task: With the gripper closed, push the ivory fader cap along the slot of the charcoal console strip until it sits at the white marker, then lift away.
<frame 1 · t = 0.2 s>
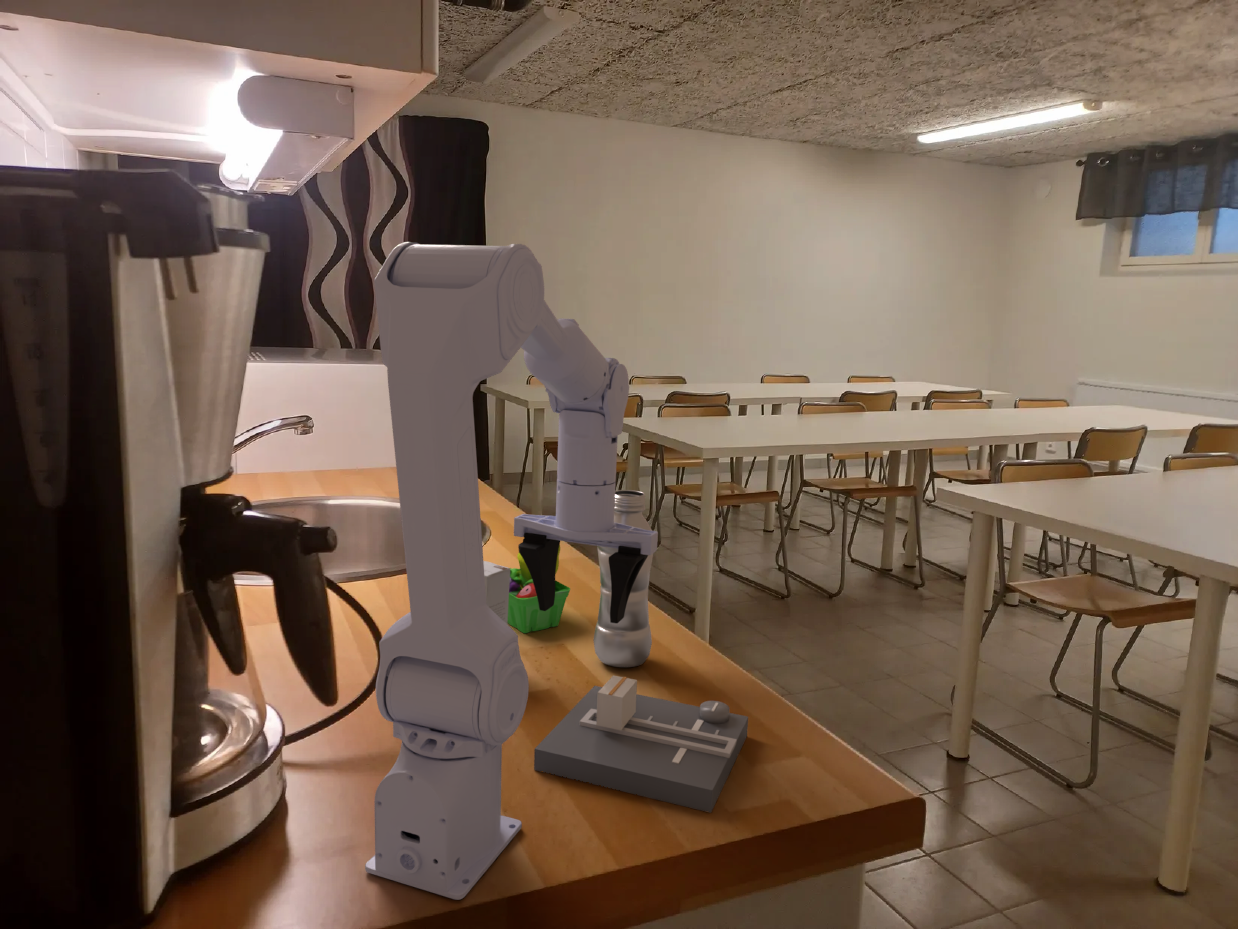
hand: (581, 613, 86), 10 cm above the kitchen counter, tool pointing down, fingers open, 7 cm apart
fader cap: (616, 703, 79), point 4 cm above the kitchen counter, slide at 0.0 cm
plastic bottle: (621, 664, 99), on the kitchen counter
console: (645, 752, 79), on the kitchen counter
skincare box: (475, 672, 95), on the kitchen counter
fruit basket: (527, 620, 112), on the kitchen counter
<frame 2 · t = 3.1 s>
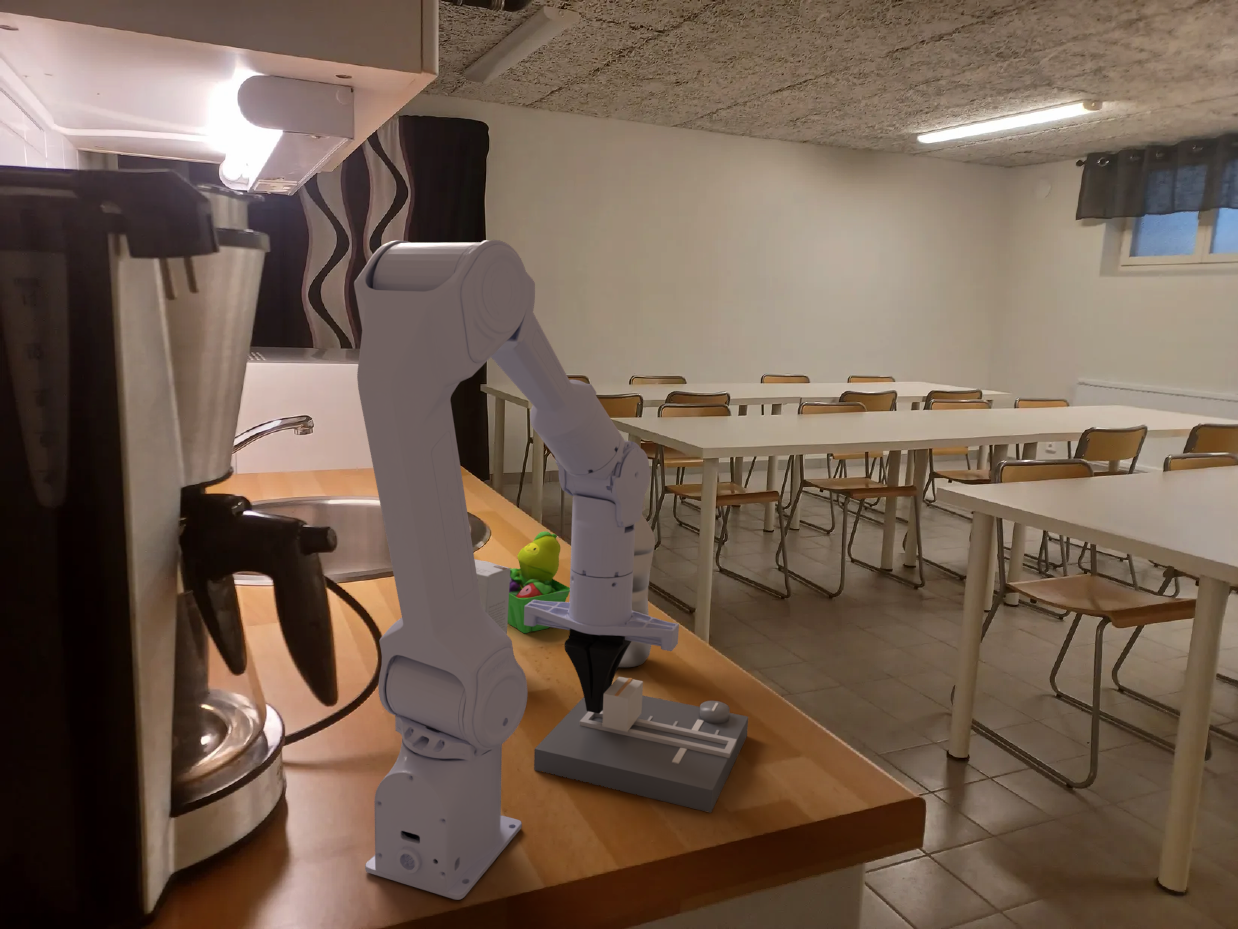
hand: (596, 708, 80), 3 cm above the kitchen counter, tool pointing down, fingers closed
fader cap: (622, 705, 79), point 4 cm above the kitchen counter, slide at 0.6 cm, touching gripper
everything else where it was.
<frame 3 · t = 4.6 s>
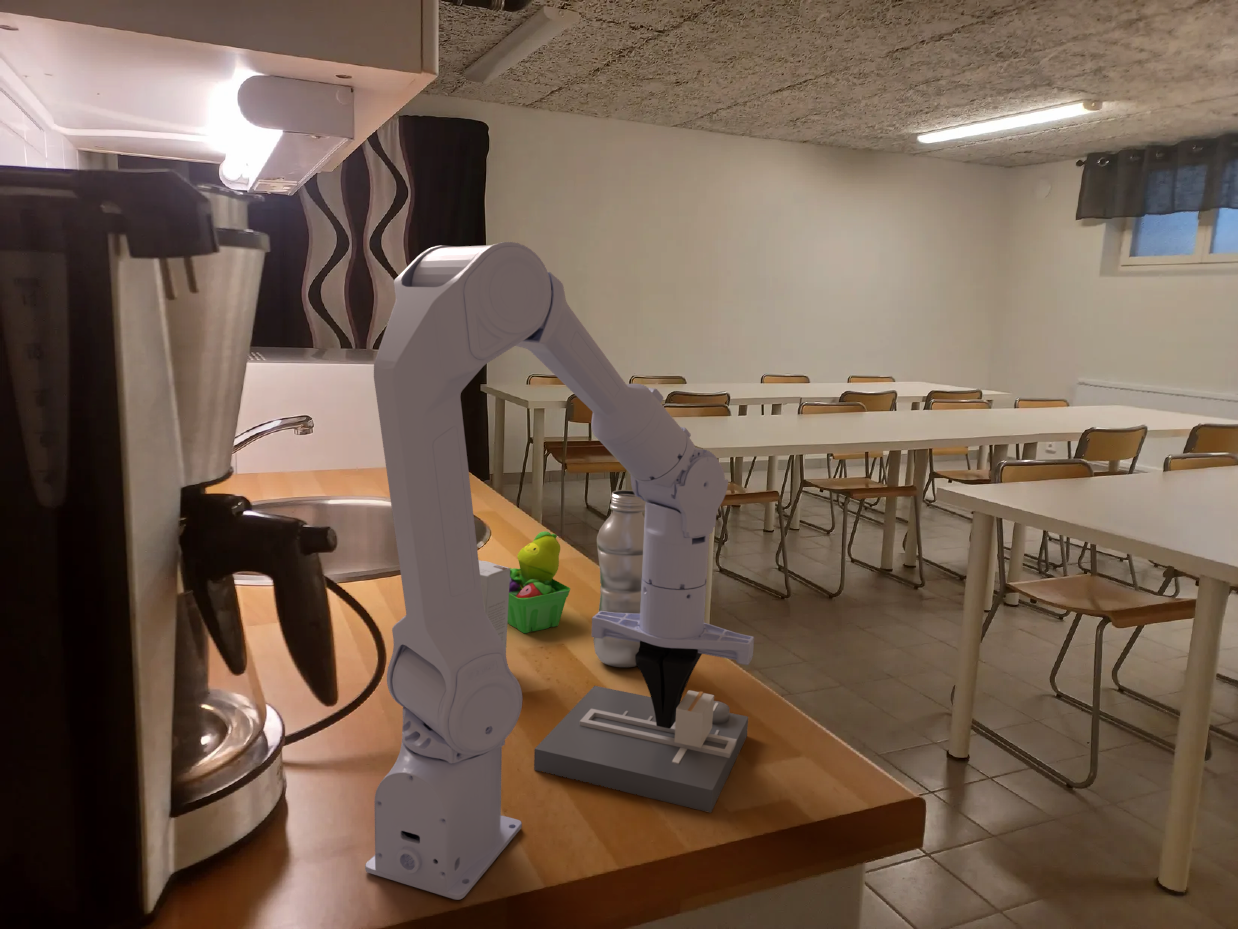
hand: (666, 722, 78), 3 cm above the kitchen counter, tool pointing down, fingers closed
fader cap: (694, 719, 77), point 4 cm above the kitchen counter, slide at 7.4 cm, touching gripper
everything else where it was.
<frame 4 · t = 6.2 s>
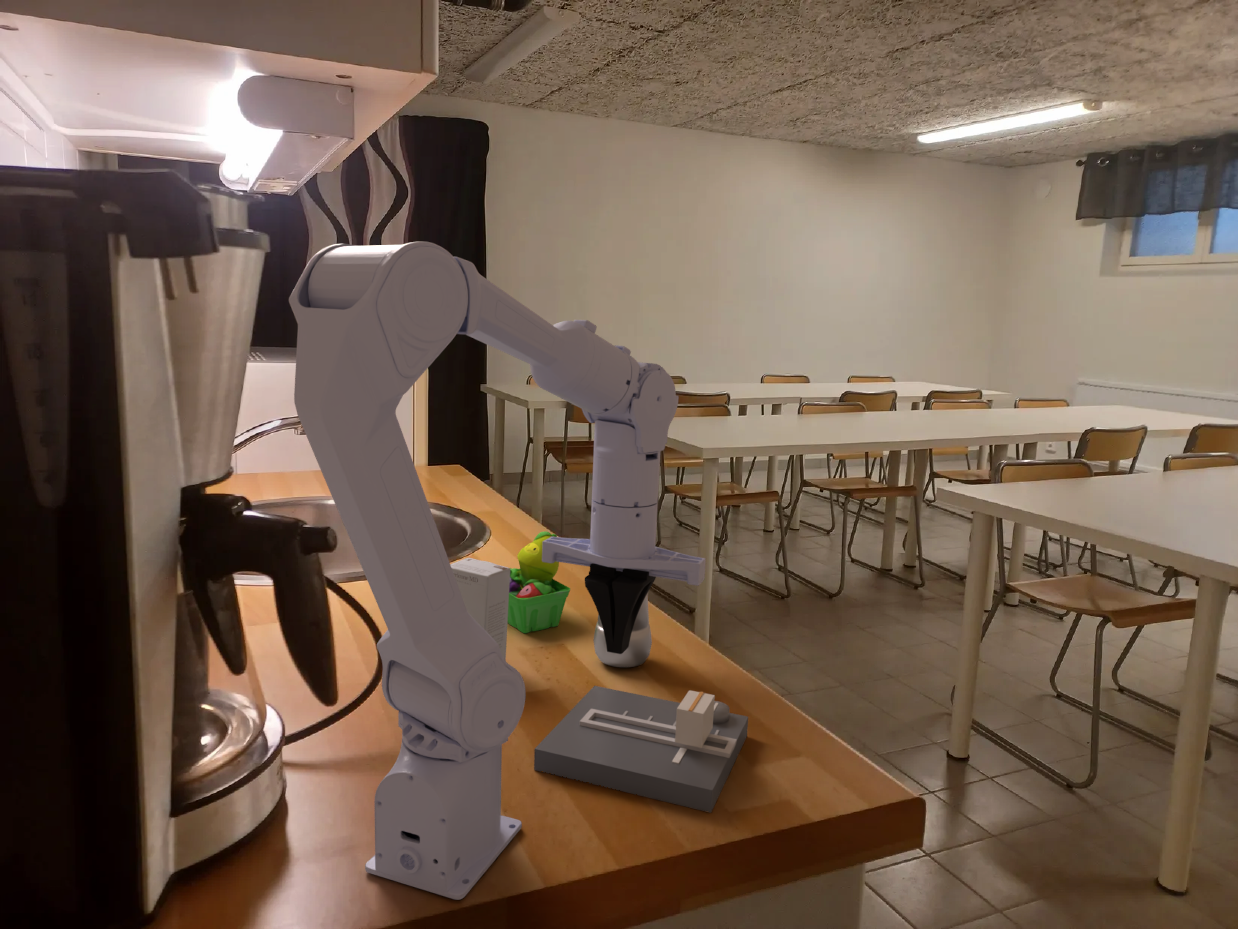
hand: (617, 649, 76), 10 cm above the kitchen counter, tool pointing down, fingers closed
fader cap: (695, 719, 77), point 4 cm above the kitchen counter, slide at 7.5 cm
everything else where it was.
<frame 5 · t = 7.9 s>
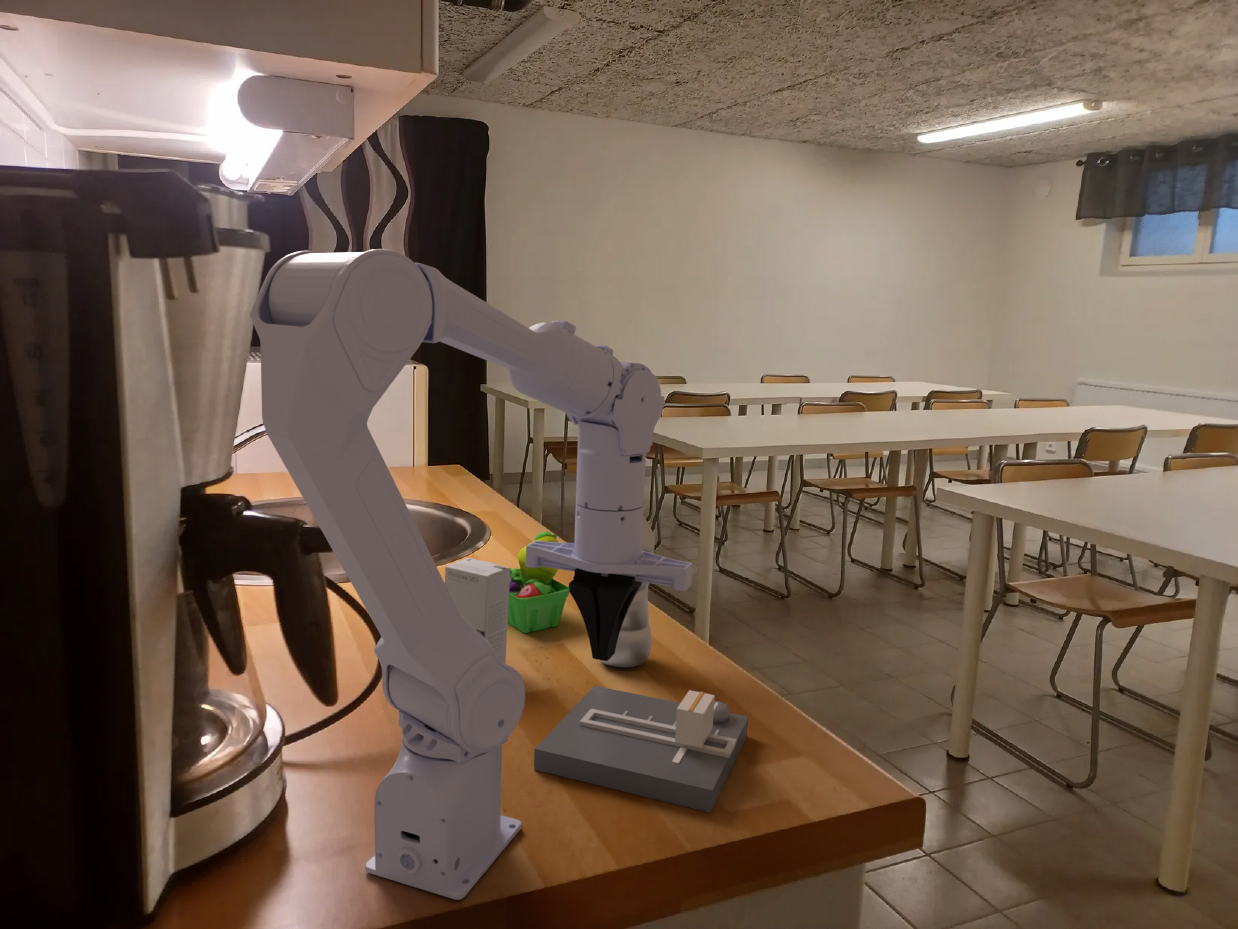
hand: (603, 655, 75), 10 cm above the kitchen counter, tool pointing down, fingers closed
nothing on the kitchen counter moved.
at the end: fader cap slide at 7.5 cm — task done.
